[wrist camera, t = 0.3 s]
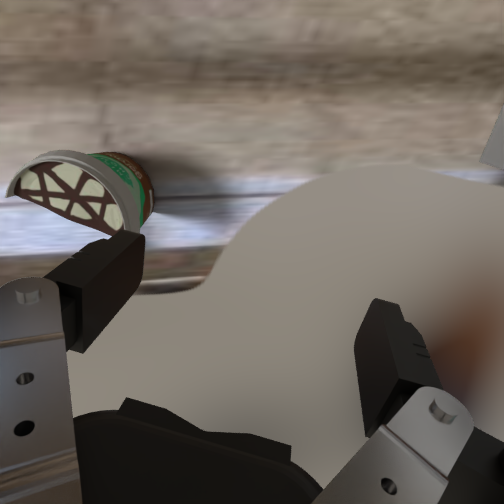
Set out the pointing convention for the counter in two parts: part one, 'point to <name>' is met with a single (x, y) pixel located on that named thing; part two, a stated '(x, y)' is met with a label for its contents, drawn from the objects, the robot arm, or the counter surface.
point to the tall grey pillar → (495, 144)
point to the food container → (88, 189)
